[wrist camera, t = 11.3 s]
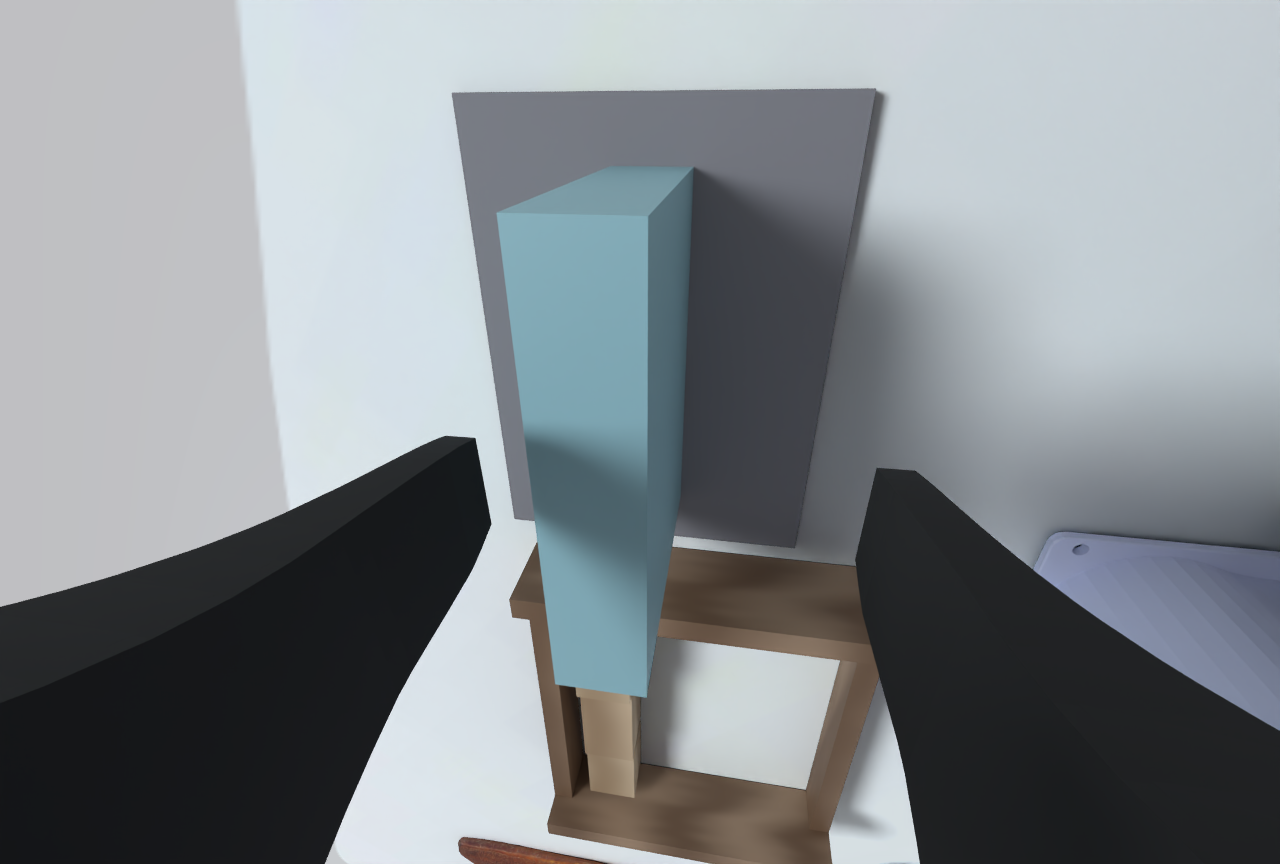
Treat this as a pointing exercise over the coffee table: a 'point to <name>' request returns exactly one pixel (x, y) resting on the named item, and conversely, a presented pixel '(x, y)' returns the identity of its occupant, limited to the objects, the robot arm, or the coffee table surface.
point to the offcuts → (611, 740)
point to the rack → (700, 803)
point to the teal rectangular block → (602, 406)
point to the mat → (699, 268)
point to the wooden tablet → (511, 854)
